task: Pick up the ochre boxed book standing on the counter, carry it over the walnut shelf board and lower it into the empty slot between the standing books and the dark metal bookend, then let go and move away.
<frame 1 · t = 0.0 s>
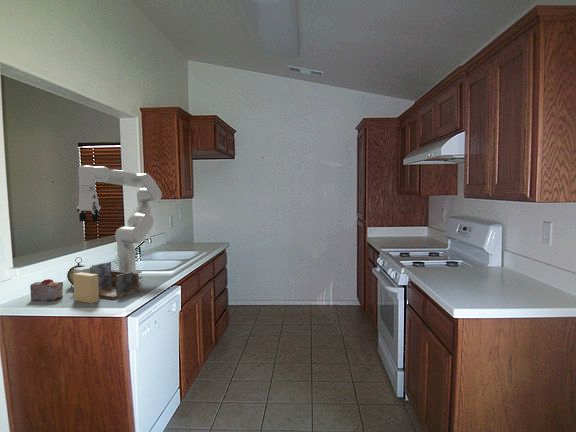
hand: (88, 221, 194), 37 cm above the table, tool pointing down, fingers open, 9 cm apart
alarm clock: (79, 286, 204), on the table
shelf: (111, 293, 189), on the table
supplement box: (84, 291, 193), on the table
book: (86, 300, 177), on the table
food item: (47, 299, 179), on the table
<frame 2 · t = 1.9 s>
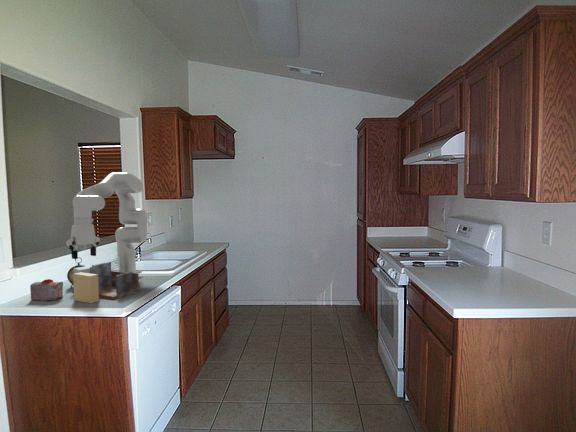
hand: (84, 257, 175), 21 cm above the table, tool pointing down, fingers open, 9 cm apart
nothing on the table moved.
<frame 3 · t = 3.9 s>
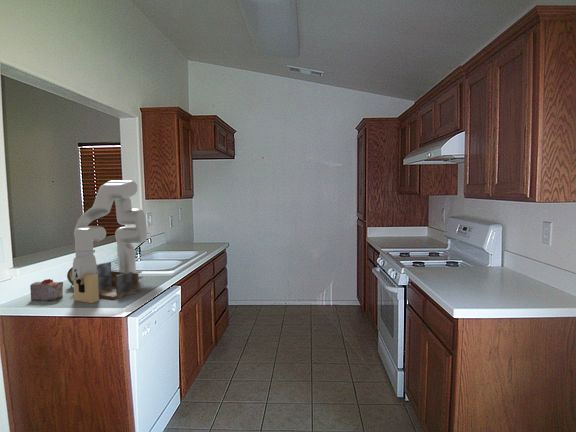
hand: (86, 290, 176), 5 cm above the table, tool pointing down, fingers closed on book, 4 cm apart
book: (86, 300, 177), on the table, touching gripper
everything else where it was.
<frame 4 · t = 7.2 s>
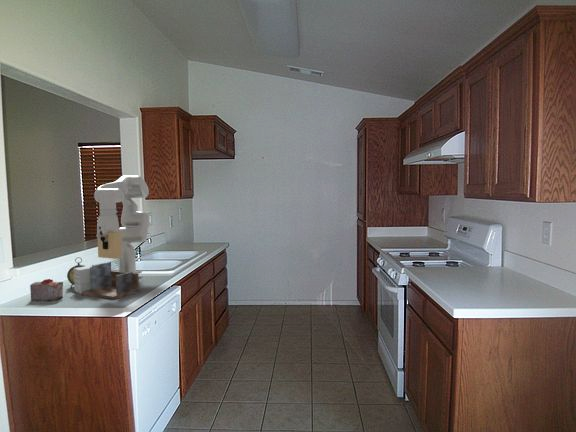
hand: (109, 248, 188), 24 cm above the table, tool pointing down, fingers closed on book, 4 cm apart
book: (109, 257, 188), point 19 cm above the table, touching gripper
everything else where it was.
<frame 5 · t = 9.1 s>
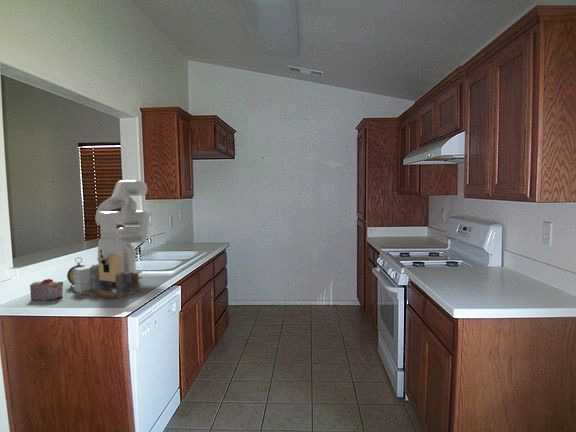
hand: (110, 270, 188), 12 cm above the table, tool pointing down, fingers closed on book, 4 cm apart
book: (110, 280, 189), point 7 cm above the table, touching gripper
everything else where it was.
when the fingers open (8 cm above the table, at t = 10.7 s): book drops 1 cm, resting on shelf.
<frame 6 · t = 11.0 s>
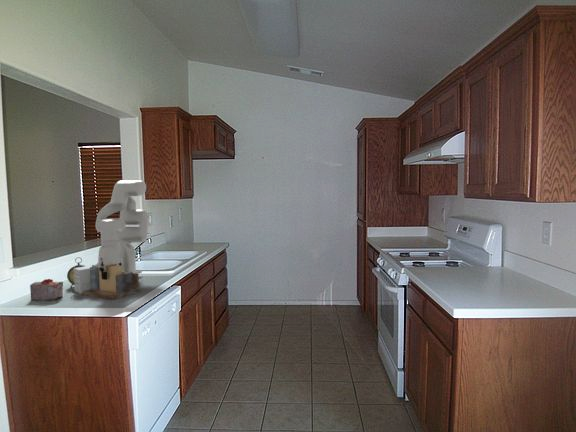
hand: (110, 277, 189), 8 cm above the table, tool pointing down, fingers open, 6 cm apart
book: (111, 290, 189), point 1 cm above the table, touching shelf
everything else where it was.
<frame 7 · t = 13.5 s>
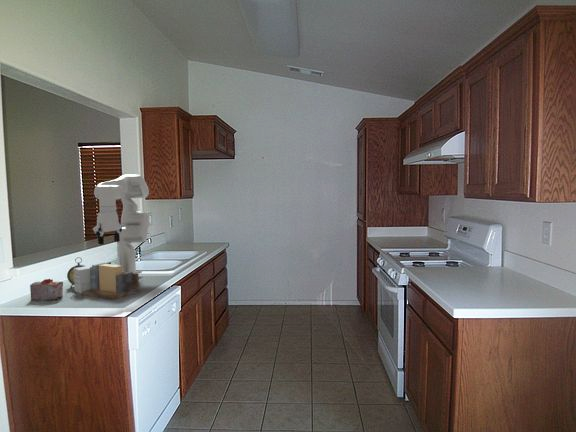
hand: (109, 242, 188), 26 cm above the table, tool pointing down, fingers open, 9 cm apart
nothing on the table moved.
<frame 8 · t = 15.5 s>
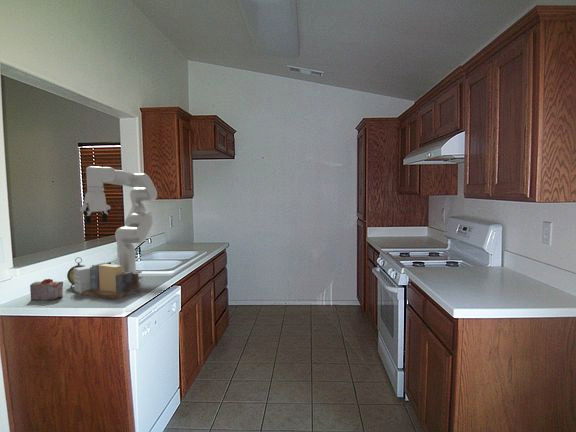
hand: (96, 222, 192), 36 cm above the table, tool pointing down, fingers open, 9 cm apart
nothing on the table moved.
at the end: book 0.1 cm off-centre on the shelf, point 1.5 cm above the shelf's base; book tilted 0°; the gripper is holding nothing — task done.
